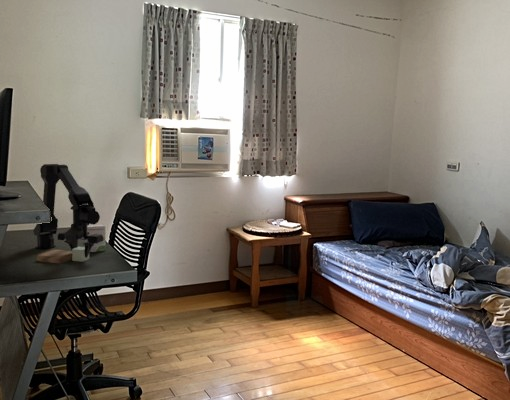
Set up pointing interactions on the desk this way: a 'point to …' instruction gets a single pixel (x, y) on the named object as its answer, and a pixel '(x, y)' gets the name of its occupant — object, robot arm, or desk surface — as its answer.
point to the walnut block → (55, 256)
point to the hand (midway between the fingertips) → (80, 256)
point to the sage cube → (79, 254)
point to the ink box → (97, 230)
